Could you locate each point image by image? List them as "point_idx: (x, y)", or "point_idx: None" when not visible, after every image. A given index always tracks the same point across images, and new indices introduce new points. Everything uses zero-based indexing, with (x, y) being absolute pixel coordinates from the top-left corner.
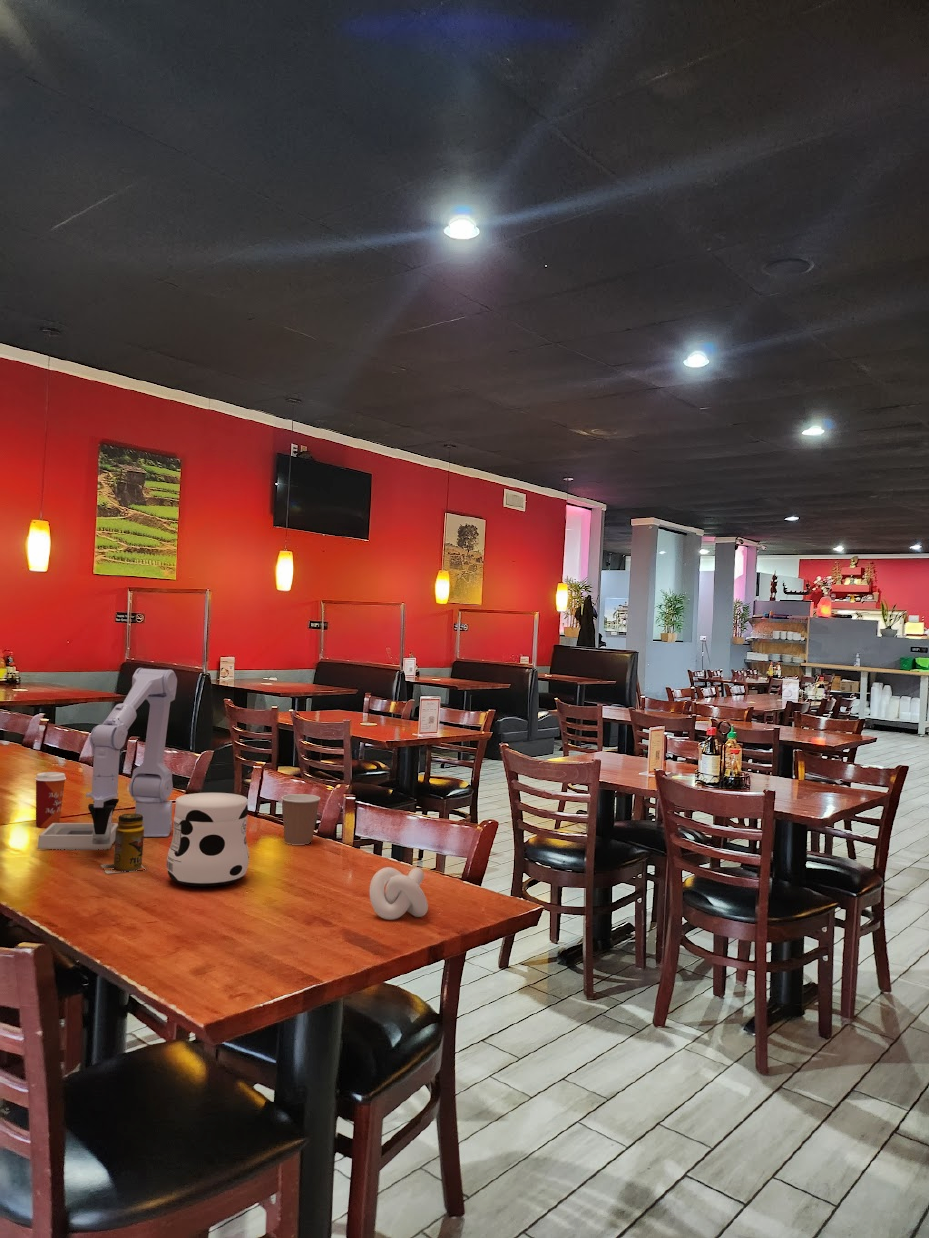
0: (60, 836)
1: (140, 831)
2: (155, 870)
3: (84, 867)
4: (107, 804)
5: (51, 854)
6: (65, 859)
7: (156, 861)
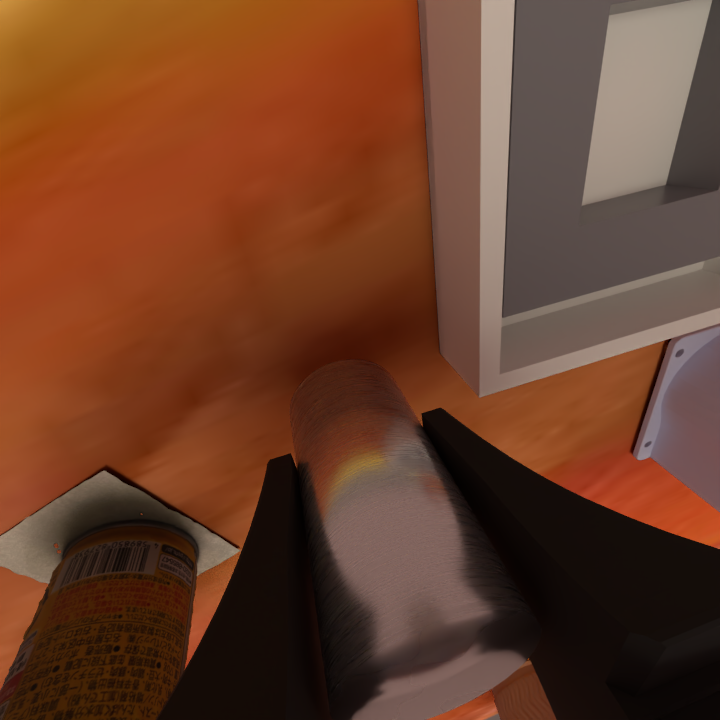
0: (475, 5)
1: None
2: None
3: (33, 414)
4: (565, 682)
5: (274, 22)
6: (164, 217)
7: None
